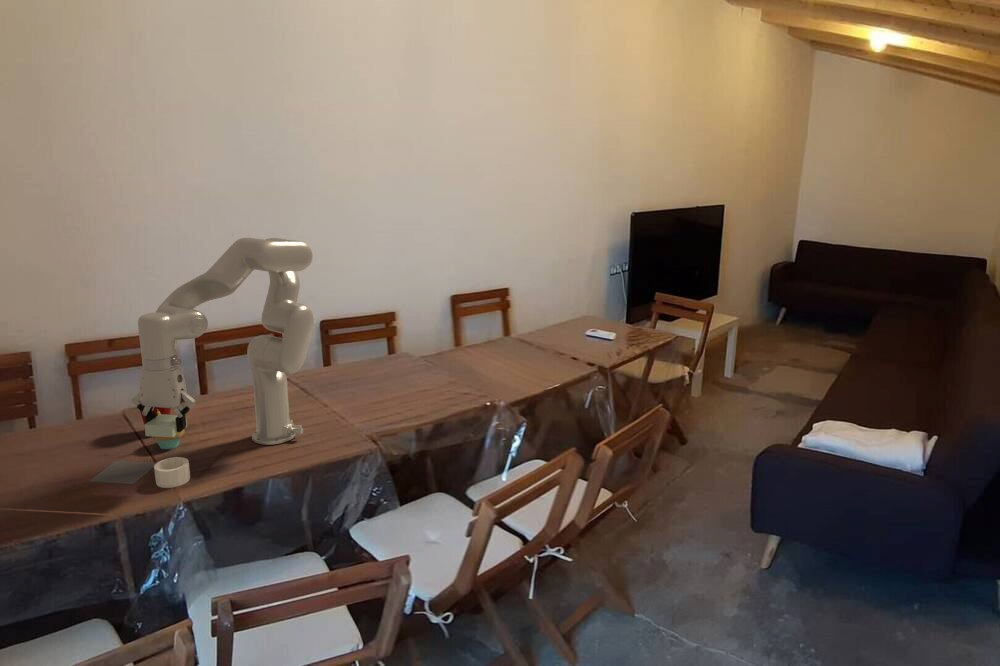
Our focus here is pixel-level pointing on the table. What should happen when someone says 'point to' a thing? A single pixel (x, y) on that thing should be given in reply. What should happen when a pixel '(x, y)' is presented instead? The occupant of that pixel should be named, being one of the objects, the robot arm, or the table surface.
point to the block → (162, 426)
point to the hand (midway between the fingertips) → (166, 428)
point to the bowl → (172, 472)
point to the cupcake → (168, 440)
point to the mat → (123, 472)
